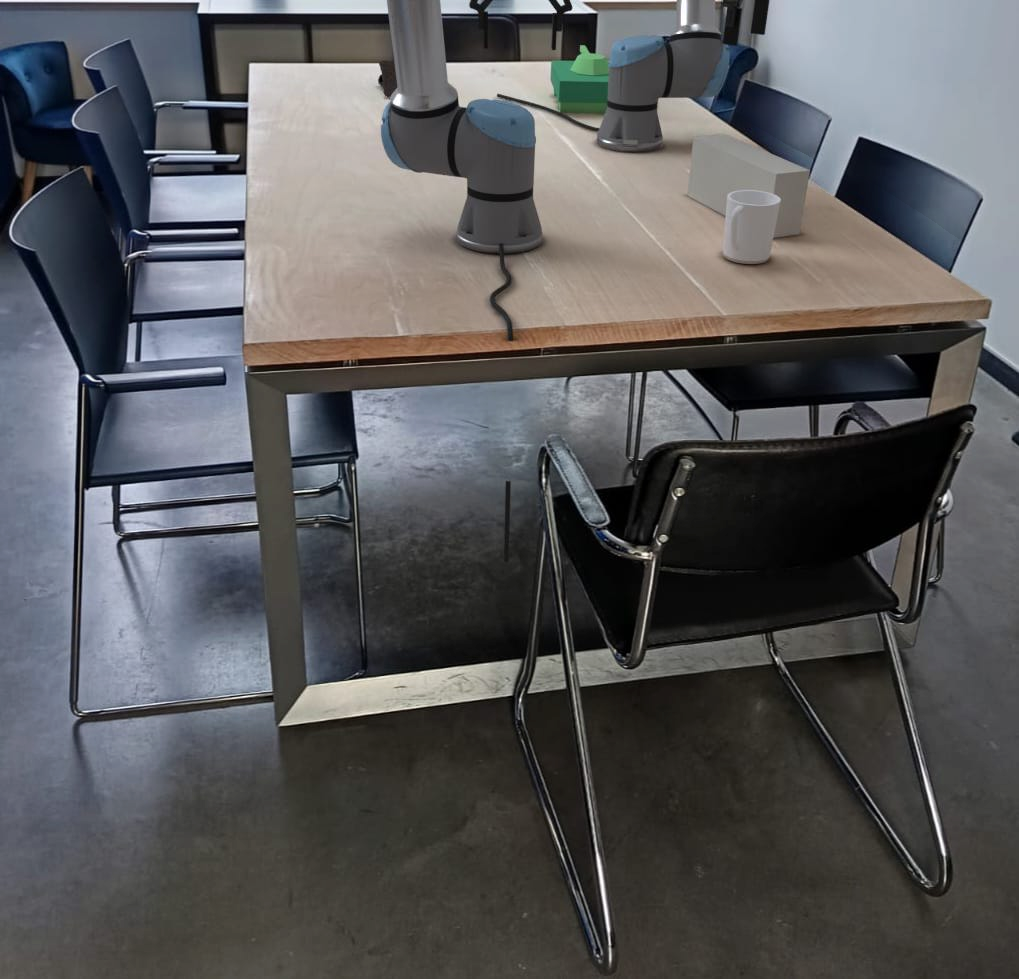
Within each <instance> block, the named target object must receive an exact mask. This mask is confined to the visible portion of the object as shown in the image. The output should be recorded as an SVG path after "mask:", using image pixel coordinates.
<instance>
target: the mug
mask: <svg viewBox="0 0 1019 979" xmlns="http://www.w3.org/2000/svg"><path fill="white" fill-rule="evenodd" d="M780 202H781V199H780V197H778V196H777V195H774V194H771V193H768V192H763V191H755V190H740V191H734V192H731V193H729V194H728V196H727V206H726V216H725V219H724V220H725V221H724V233H723V247H722V255H723V258H725V259H726V260H728V261H730V262H733V263H737V264H743V265H744V264H745V265H759V264H763V263H766V262H767V261H768V260H770V257H771V251H772V247H773V241H774V238H773V237H774V232H775V227H776V222H777V217H778V212H779V207H780Z"/></svg>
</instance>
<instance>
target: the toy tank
mask: <svg viewBox="0 0 1019 979" xmlns="http://www.w3.org/2000/svg"><path fill="white" fill-rule="evenodd" d="M579 52H580V54H578V55H577V56H576V59H575V60H555V59H554V60H551V61H550V83H551V86H552V88H553V96H554V97H556V100H557V102H558V112H560V113H563V114H575V115H576V114H577V115H578V114H579V115H580V114H581V115H583V114H585V115H586V114H587V115H589V114H590V115H592V114H593V115H605V112H606V109H607V97H608V81H609V60H608V59H607V57H606V56H605V55H603V54H599V53H591V52H590V51H589V50H588V47H587V46H586V45H583V44H582V45H581V44H580V45H579Z"/></svg>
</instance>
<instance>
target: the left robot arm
mask: <svg viewBox="0 0 1019 979" xmlns="http://www.w3.org/2000/svg"><path fill="white" fill-rule="evenodd" d="M492 2H494V0H482V1H481V2H480V3H479V0H469V4H468V6H469V8H470V9H472V10H474V11H476V12H477V14H478V15H477V16H478V19H477V28H478V30H480V31H483V49H485V50H486V49H488V45H489V40H488V39H489V11H487V8H488V7H489V6H490V4H492ZM548 2H549V3H550V4H551V6H552V7H553V9H554V10H555V12H552V22H551V25H552V26H551V46H550V48H551V50H552V51H556V50H557V35H558V34H557V33H558V32H559V33H560V32H562V31H563V24H564V23H563V22H564V21H563V20H564V14H565V13H567V12H571V11H572V10H573V8H574V7H573V4H572V2H571V0H562V2H563V4H562V5H561V4H560V3H559V2H558V0H548ZM386 6H387V13H388V14H387V15H388V21H389V29H390V37H391V38H390V39H391V45H392V54H393V61H394V62H395V70H396V78H397V86H398V87H397V89H396V90H395V91H394V92H393V93H392V95H391V97H389V100H390V101H389V102H388V103H387V104H386V105H385V107H384V109H383V111H382V115H381V121H382V124H380V137H381V143H382V145H383V150H384V152H385V154H386V156H387V158H388V160H389V161H390V162H391V163H392V164H393V165H395V166H396V167H398V168H400V169H403V170H408V171H412V172H413V173H418V174H422V173H426V174H433V175H440V176H441V175H442V176H447V177H455V178H463V179H466V192H467V193H466V198H465V202H464V205H463V209H462V211H461V214H460V218H459V220H458V224H457V228H456V241H457V243H458V244H459V245H461V246H462V247H464V248H466V249H468V250H470V251H475V252H479V253H486V254H497V255H499V266H500V269H501V271H502V273H503V274H504V276H505V277H506V281H505V283H504V284H502V285H501V286H500V287H498V288H496V289H495V290H493V291H492V293H491V294H490V296H489V302H490V305H491V306H492V307H493V308H494V309H495V310H496V312H498V313H499V314H500V315H501V316H502V317H503V319H504V321H505V323H506V329H507V341H509V342H513V341H514V329H513V322H512V320H511V317H510V316H509V315H508V313H507V311H506V310H505V309H504V308H502V307H501V306H500V305H499V304H498V303H497V301H496V299H495V298H496V297H497V296H498V295H499V294H500V293H502V292H503V291H505V290H507V289H508V288H509V287H510V285H511V283H512V275H511V274H510V272H509V271H508V268H507V267H506V262H505V255H506V254H507V255H508V254H517V253H524V252H527V251H530V250H533V249H536V248H538V247H539V246H540V245H541V244H542V243H543V229H542V224H541V221H540V220H541V219H540V218H539V214H538V213H539V212H538V210H537V206H536V204H535V199H534V184H535V158H536V143H537V137H536V121H535V118H534V115H533V114H532V112H531V111H529V110H528V109H527V108H525V106H524V107H523V106H522V105H519V104H516V103H515V102H512V101H508V100H503V99H502V100H500V99H494V98H493V99H489V98H478V99H474V100H471V101H469V102H468V104H467V106H466V107H465V106H460V103H459V102H460V101H459V93H458V89H457V88H456V87H455V86H453V85H452V84H451V83H449V78H448V69H447V59H446V58H447V57H446V48H445V38H444V27H443V17H442V16H443V14H442V6H441V0H386ZM511 483H512V482H511V480H506V481H505V490H504V492H505V493H504V494H505V496H504V535H503V536H504V539H503V540H504V542H503V545H504V546H503V562H504V563H509V562H510V526H511V525H510V524H511V487H512V486H511V485H512V484H511Z"/></svg>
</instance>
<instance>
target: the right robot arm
mask: <svg viewBox="0 0 1019 979" xmlns="http://www.w3.org/2000/svg"><path fill="white" fill-rule="evenodd" d="M743 1H744V0H722V2H721V6H722V8H726V13H725V14H726V16H725V21H724V22H725V23H724V30H723V37H722V32H720V30H718V28H717V27H716V25H715V22H716V21H715V20H716V0H676V9H675V10H676V11H675V12H676V17H675V29H674V30H672V32H671V33H670V34H669V36H668V42H665V40H664V38H663V37H662V36H660V35H657V34H656V35H654V34H653V35H652V34H651V35H648V34H647V35H642V34H641V35H635V36H629V37H625V38H621V39H619V40H617V41H615V42H614V43H613V45H612V46H611V49H610V54H609V60H608V62H609V81H608V97H607V109H606V112H605V114H603V118H602V121H601V123H600V126H599V127H596V126H592V125H588V124H586V123H583V122H581V121H578V120H577V119H574V118H572V117H571V116H569V115H567V114H566V113H560V112H559V110H556V109H553V108H550V107H548V106H545V105H541V104H538V103H534V102H531V101H527V100H524V99H520V98H515V97H512V96H509V95H505V94H501V93H497V94H496V97H497V98H499V99H502V100H506V101H509V102H513V103H518V104H522V105H526V106H530V107H533V108H536V109H539V110H542V111H546V112H548V113H551V114H554V115H556V116H559V117H560V118H563V119H565V120H567V121H569V122H570V123H572V124H574V125H576V126H579V127H581V128H584V129H586V130H589V131H592V132H593V131H594V132H597V133H596V145H598V146H600V147H602V148H603V149H607V150H611V151H615V152H625V153H644V152H645V153H647V152H653V151H656V150H658V149H661V148H662V147H663V140H664V136H663V132H662V127H661V122H660V119H659V113H658V107H659V106H658V105H659V99H676V98H677V99H682V98H683V99H703V98H713V97H717V95H718V94H719V93H720V92H721V91H722V89H723V87H724V85H725V82H726V80H727V76H728V72H729V68H730V67H729V66H730V60H731V59H730V57H731V54H730V47H729V46H733V47H737V46H738V44H739V35H740V28H741V21H742V13H743V8H742V7H741V6H742V4H743ZM769 6H770V0H754V5H753V12H752V20H751V26H750V34H753V35H760V36H764V35H766V29H767V22H768V21H767V20H768V13H769V8H770V7H769Z"/></svg>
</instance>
